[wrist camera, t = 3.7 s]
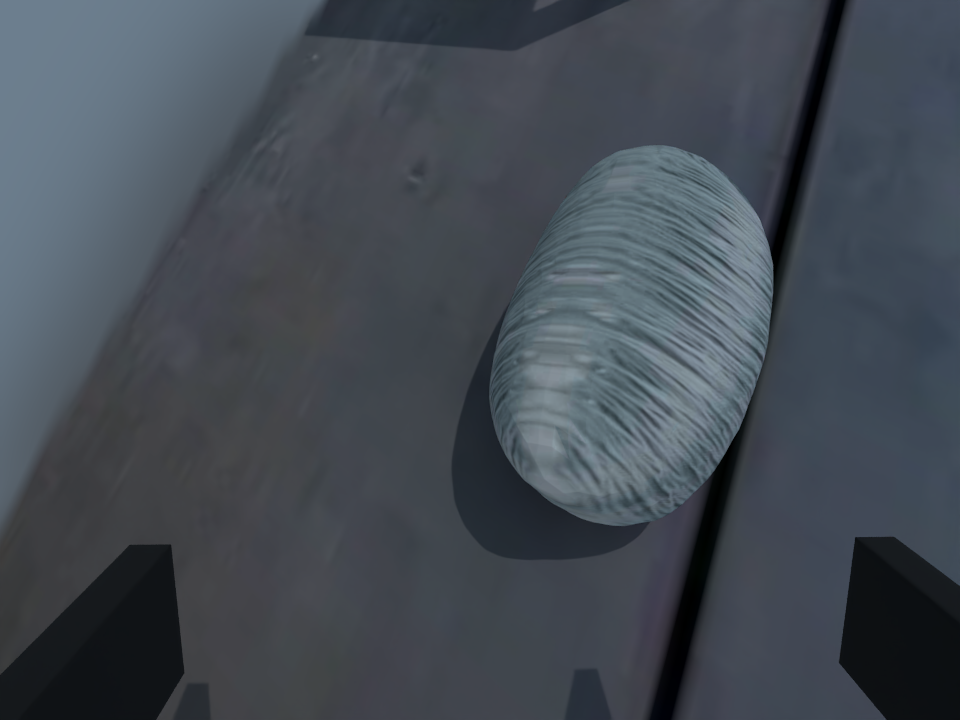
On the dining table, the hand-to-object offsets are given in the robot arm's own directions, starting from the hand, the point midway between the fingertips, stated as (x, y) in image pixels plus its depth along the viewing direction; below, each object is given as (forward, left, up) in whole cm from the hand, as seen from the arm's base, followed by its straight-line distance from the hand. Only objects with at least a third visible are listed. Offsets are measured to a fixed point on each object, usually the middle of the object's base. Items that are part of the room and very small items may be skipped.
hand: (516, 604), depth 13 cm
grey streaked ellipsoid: (+2, +10, -13) cm, 17 cm away
